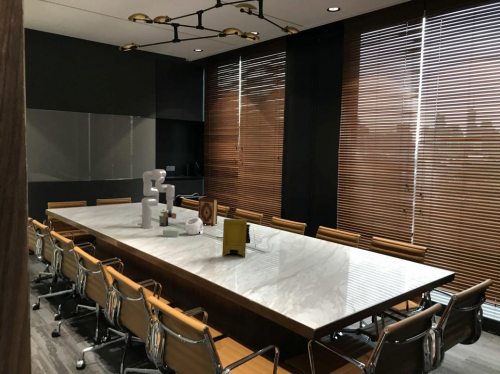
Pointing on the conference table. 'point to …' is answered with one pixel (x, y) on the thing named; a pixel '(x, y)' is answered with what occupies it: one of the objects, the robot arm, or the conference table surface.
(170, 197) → the robot arm
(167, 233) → the pale green box
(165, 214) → the wooden staple shape
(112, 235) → the conference table surface
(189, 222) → the skull planter
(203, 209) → the decorative book
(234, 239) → the olive boxy piece
